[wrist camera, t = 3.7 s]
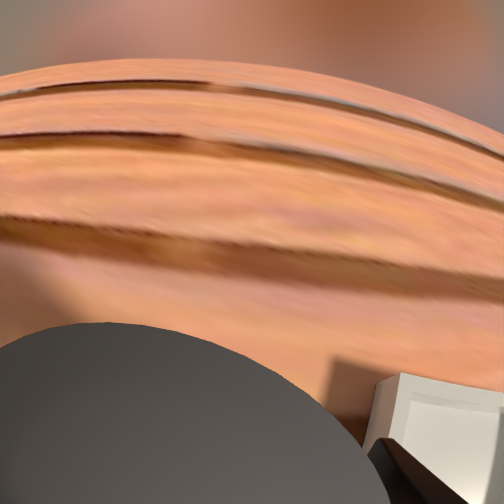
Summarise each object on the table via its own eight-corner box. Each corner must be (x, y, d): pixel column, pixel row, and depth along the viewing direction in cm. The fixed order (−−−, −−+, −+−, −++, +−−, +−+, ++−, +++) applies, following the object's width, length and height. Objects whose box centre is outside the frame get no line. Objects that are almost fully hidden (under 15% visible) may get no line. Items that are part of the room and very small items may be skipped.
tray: (476, 565, 8) (501, 570, 6) (313, 582, 9) (328, 601, 7) (514, 406, 14) (540, 398, 12) (376, 382, 15) (400, 372, 13)
